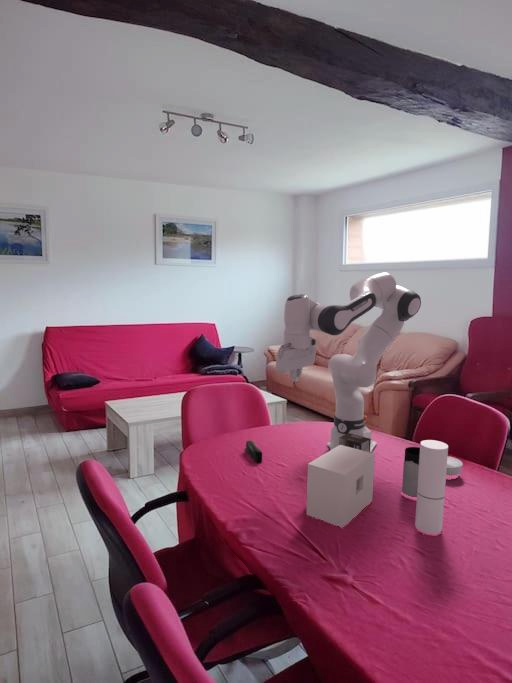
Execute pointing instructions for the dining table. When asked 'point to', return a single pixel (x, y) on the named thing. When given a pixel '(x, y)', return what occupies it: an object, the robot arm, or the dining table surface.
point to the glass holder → (411, 471)
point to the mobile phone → (253, 451)
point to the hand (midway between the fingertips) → (295, 381)
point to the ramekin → (453, 466)
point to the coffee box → (355, 442)
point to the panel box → (340, 484)
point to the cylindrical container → (431, 486)
